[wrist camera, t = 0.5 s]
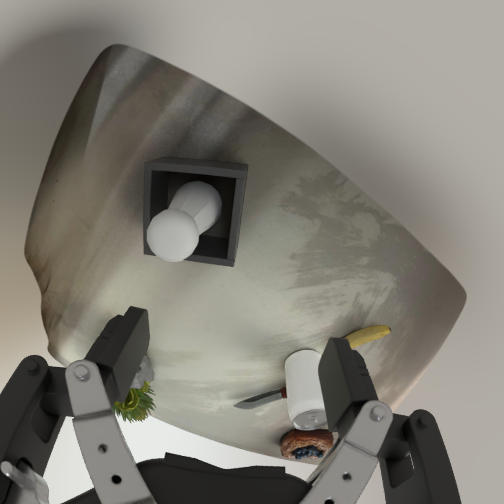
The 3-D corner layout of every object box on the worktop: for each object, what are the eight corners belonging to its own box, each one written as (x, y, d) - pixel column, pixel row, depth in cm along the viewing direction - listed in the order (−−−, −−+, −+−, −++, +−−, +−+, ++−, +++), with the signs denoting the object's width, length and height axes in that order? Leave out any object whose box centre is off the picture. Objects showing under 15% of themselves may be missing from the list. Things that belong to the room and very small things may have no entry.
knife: (235, 403, 48) (233, 415, 45) (230, 399, 48) (229, 411, 45) (325, 375, 44) (328, 387, 42) (323, 370, 44) (325, 383, 41)
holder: (164, 156, 31) (145, 162, 25) (248, 164, 31) (245, 171, 25) (160, 235, 35) (143, 254, 29) (237, 245, 35) (233, 267, 29)
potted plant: (139, 334, 37) (188, 411, 39) (125, 329, 47) (163, 392, 49) (73, 371, 30) (130, 448, 31) (74, 357, 40) (116, 421, 41)
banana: (380, 310, 39) (389, 326, 35) (385, 319, 39) (394, 335, 36) (326, 344, 41) (330, 362, 38) (333, 352, 42) (338, 369, 38)
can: (284, 376, 44) (289, 433, 33) (283, 350, 42) (288, 411, 31) (321, 371, 44) (333, 428, 33) (323, 345, 41) (338, 405, 30)
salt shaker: (192, 168, 31) (153, 190, 19) (233, 193, 32) (218, 229, 20) (170, 209, 33) (125, 251, 21) (209, 232, 34) (183, 286, 22)
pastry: (318, 447, 57) (320, 465, 51) (274, 446, 56) (274, 465, 51) (337, 428, 53) (341, 448, 47) (289, 426, 52) (290, 448, 46)
